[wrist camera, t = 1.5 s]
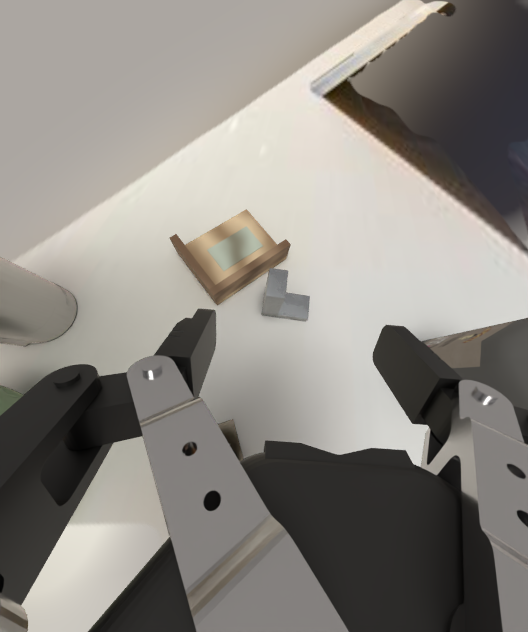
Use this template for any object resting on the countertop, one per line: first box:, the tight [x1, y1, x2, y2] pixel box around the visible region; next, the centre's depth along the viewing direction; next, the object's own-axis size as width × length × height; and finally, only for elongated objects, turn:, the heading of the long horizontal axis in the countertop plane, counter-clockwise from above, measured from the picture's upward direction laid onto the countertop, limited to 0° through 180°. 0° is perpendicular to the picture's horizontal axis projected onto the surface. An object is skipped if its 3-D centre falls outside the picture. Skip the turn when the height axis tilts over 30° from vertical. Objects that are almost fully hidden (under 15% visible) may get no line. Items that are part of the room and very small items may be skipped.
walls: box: [170, 234, 291, 303], centre depth 37 cm, size 15×12×4 cm
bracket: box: [262, 268, 310, 321], centre depth 34 cm, size 8×4×9 cm, turn 83°
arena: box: [178, 209, 287, 305], centre depth 39 cm, size 15×12×1 cm
